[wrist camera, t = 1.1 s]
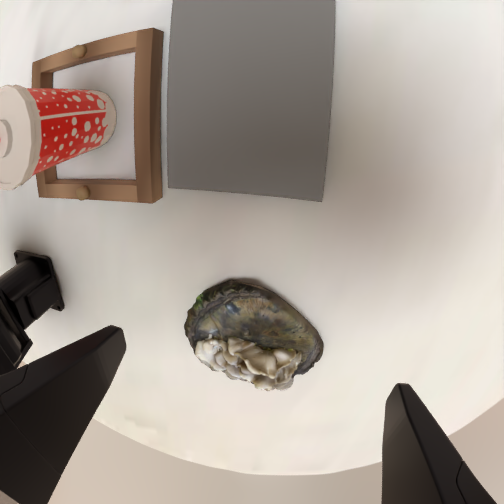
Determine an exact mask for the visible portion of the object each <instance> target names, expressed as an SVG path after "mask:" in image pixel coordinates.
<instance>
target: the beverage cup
mask: <svg viewBox="0 0 504 504" xmlns="http://www.w3.org/2000/svg"><path fill="white" fill-rule="evenodd" d="M115 125H116V110H115V107H114V104H113V101H112V100H111V99H110V98H109V97H108V95H107V94H105V93H103V92H100V91H95V90H79V89H49V88H24V87H21V86H18V85H13V86H11V85H5V86H3V87H1V88H0V189H1V190H13V189H15V188H17V187H18V186H20V185H23V184H24V183H25V182H26V181H27V180H29V179H30V178H31V177H32V176H33V175H35V174H37V173H39V172H41V171H44V170H46V169H48V168H50V167H52V166H55V165H57V164H59V163H62V162H64V161H66V160H69V159H71V158H73V157H76V156H78V155H81V154H83V153H86V152H88V151H91V150H94V149H96V148H99V147H100V146H102V145H104V144H105V143H107V141H108V140H109V139H110V137H111V136H112V135H113V132H114V129H115Z"/></svg>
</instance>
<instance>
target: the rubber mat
mask: <svg viewBox="0 0 504 504" xmlns="http://www.w3.org/2000/svg"><path fill="white" fill-rule="evenodd" d="M334 39H335V0H173V4H172V15H171V28H170V43H169V62H168V89H167V167H168V188H176V189H192V190H206V191H219V192H231V193H243V194H254V195H264V196H274V197H284V198H293V199H302V200H310V201H318V202H322V198H323V189H324V180H325V171H326V161H327V151H328V139H329V128H330V115H331V101H332V85H333V65H334Z"/></svg>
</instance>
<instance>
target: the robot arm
mask: <svg viewBox="0 0 504 504" xmlns="http://www.w3.org/2000/svg"><path fill="white" fill-rule="evenodd" d="M14 256H15V260H16V263H17V265H15V266H14V267H13V268H11V269H10V270H8V271H7V272H6V273H4V274H3V275H2V276H0V504H17V503H19V504H47V503H48V502H49V500H50V497H51V495H52V493H53V491H54V489H55V487H56V485H57V483H58V481H59V479H60V477H61V475H62V473H63V471H64V469H65V467H66V465H67V464H68V461H69V460H70V458H71V456H72V454H73V452H74V450H75V448H76V446H77V445H78V443H79V441H80V439H81V437H82V435H83V434H84V432H85V430H86V428H87V426H88V424H89V422H90V421H91V419H92V417H93V415H94V414H95V412H96V410H97V408H98V407H99V405H100V403H101V401H102V399H103V398H104V396H105V394H106V393H107V391H108V389H109V387H110V385H111V383H112V381H113V378H114V376H115V374H116V372H117V369H118V367H119V365H120V363H121V360H122V358H123V356H124V354H125V351H126V342H125V338H124V333H123V330H122V329H121V328H120V327H117V326H114V325H110V326H107V327H105V328H103V329H101V330H99V331H97V332H95V333H93V334H90V335H88V336H86V337H84V338H82V339H80V340H78V341H76V342H74V343H71V344H69V345H67V346H65V347H63V348H61V349H59V350H57V351H54V352H52V353H50V354H48V355H46V356H44V357H42V358H39V359H37V360H35V361H33V362H31V363H29V365H28V364H27V365H24V366H22V367H20V368H18V369H17V367H18V366H19V364H20V363H21V361H22V360H23V358H24V356H25V355H26V353H27V352H28V350H29V349H30V347H31V346H32V344H33V342H32V341H31V339H29V337H28V336H27V334H26V332H25V331H24V330H25V329H26V328H27V327H29V326H30V325H31V324H32V323H33V322H34V321H35V320H37V319H39V318H40V317H41V316H42V315H43V314H44V313H45V312H46V311H47V310H48V309H49V308H52V309H55V310H58V311H62V310H63V309H64V305H63V302H62V299H61V296H60V292H59V289H58V285H57V282H56V278H55V275H54V271H53V267H52V263H51V260H50V259H49V258H48V257H46V256H41V255H36V254H32V253H27V252H23V251H19V250H17V251H15V252H14ZM462 460H463V459H462V457H461V456H460V454H459V453H458V451H457V450H456V448H455V447H454V446H453V444H452V443H451V441H450V440H449V438H448V437H447V436H446V434H445V433H444V431H443V430H442V428H441V427H440V426H439V424H438V423H437V421H436V420H435V419H434V417H433V416H432V414H431V413H430V412H429V410H428V409H427V407H426V406H425V405H424V403H423V402H422V401H421V399H420V398H419V397H418V395H417V394H416V392H415V391H414V390H413V388H412V387H411V386H410V385H409V384H406V383H397V384H396V385H395V387H394V388H393V390H392V392H391V393H390V395H389V397H388V398H387V401H386V406H385V421H384V432H383V444H382V462H383V463H382V504H497V503H496V502H495V501H494V500H493V498H492V497H491V496H490V495H489V494H488V492H487V491H486V490H485V489H484V488H483V486H482V485H481V484H480V483H479V481H478V480H477V479H476V477H475V476H474V475H473V473H472V472H471V470H470V469H469V468H468V466H467V464H466V463H465V461H462Z"/></svg>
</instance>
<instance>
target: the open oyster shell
mask: <svg viewBox="0 0 504 504" xmlns="http://www.w3.org/2000/svg"><path fill="white" fill-rule="evenodd" d="M184 329H185V335H186V336H187V337H188V339H189V342H190V345H191V346H192V348H193V350H194V354H195V355H196V357H197V358H198V359H199V360H200V361H201V363H203V364H205V365H206V366H208V367H209V368H211V370H212V371H222V372H224V373H225V374H226V375H227V376H228V377H229V378H230V379H233V380H237V379H240V380H243V381H248V382H251V383H252V384H254V385H255V388H257V389H260V390H266V391H270V390H273V389H275V388H276V389H277V390H285V389H287V388H289V387H291V385H292V384H293V378H294V376H295V375H296V374H302V375H303V374H305V373H306V372H308V371H309V369H311V368H312V367H314V363H315V362H318V361H319V360H320V358H321V356H322V354H323V341H322V339H321V337H320V336H319V334H318V332H317V331H316V329H315V328H314V327H313V326H312V325H311V324H310V323H309V322H308V321H307V320H306V319H305V318H304V317H303V316H302V315H301V314H300V313H299V312H298V311H296V310H295V309H294V308H293V307H291V306H290V305H289V304H288V303H286V302H285V301H284V300H283V299H282V298H280V297H279V296H278V295H277V294H275V293H273V292H271V291H269V290H267V289H265V288H263V287H260V286H258V285H253V284H248V283H243V282H238V281H234V280H229V281H227V282H224V283H222V284H220V285H217V286H215V287H212V288H210V289H207V290H205V291H204V292H203V293H202V294H200V295H199V296H198V297H197V298H196V303H195V304H194V305H193V307H192V308H191V309H189V310H188V316H187V319H186V322H185V324H184Z"/></svg>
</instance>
